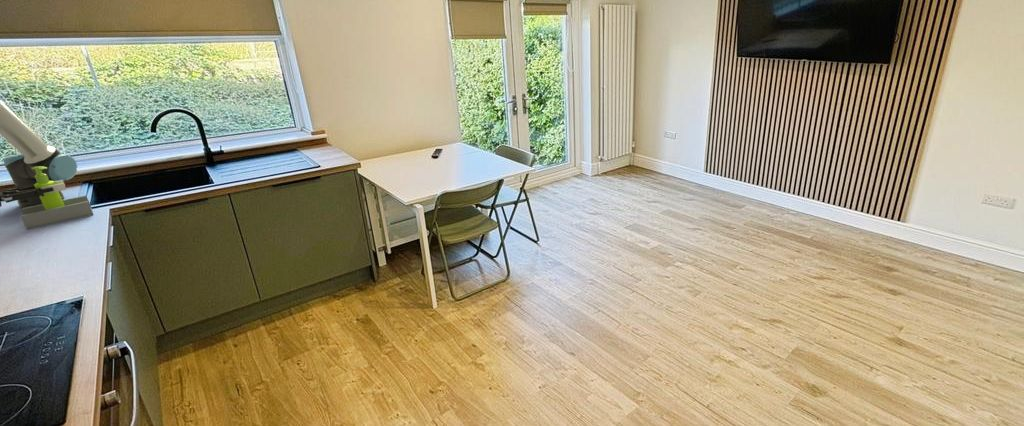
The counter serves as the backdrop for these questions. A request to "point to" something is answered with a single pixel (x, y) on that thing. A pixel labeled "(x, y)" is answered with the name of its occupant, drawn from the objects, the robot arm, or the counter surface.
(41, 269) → the counter surface
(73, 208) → the gray rectangular tray
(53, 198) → the soap dispenser
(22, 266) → the counter surface
